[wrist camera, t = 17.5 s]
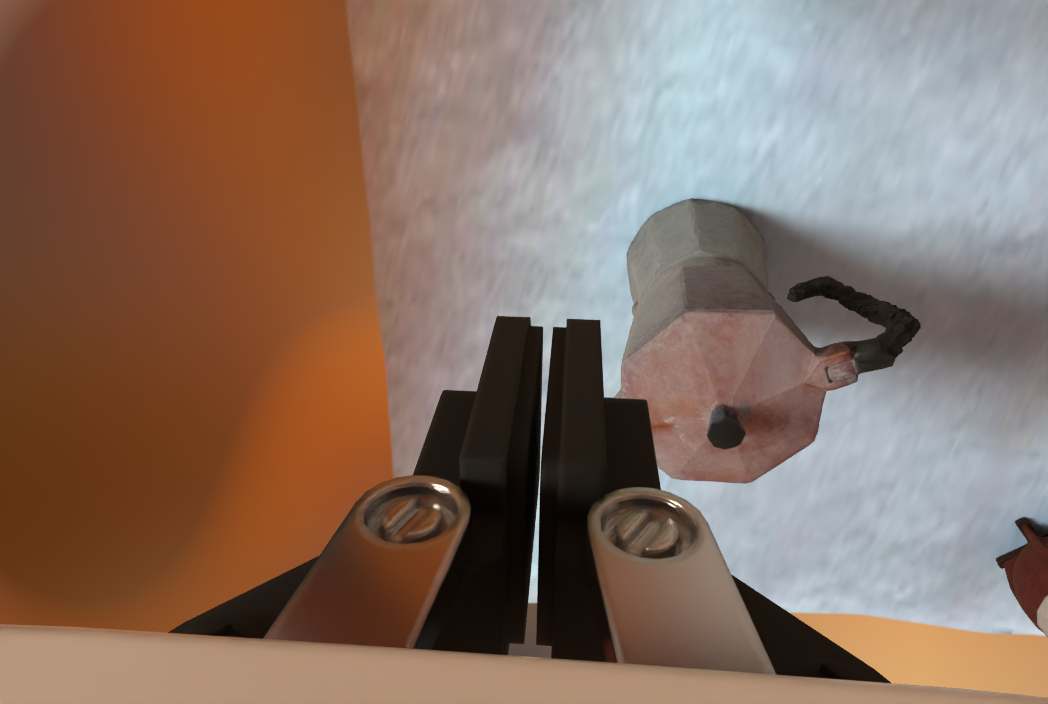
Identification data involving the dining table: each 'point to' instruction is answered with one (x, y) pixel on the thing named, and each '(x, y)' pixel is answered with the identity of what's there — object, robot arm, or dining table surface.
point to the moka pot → (733, 346)
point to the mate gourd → (1029, 574)
